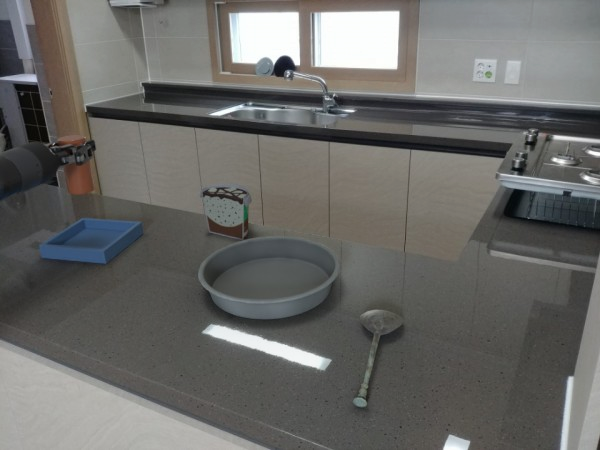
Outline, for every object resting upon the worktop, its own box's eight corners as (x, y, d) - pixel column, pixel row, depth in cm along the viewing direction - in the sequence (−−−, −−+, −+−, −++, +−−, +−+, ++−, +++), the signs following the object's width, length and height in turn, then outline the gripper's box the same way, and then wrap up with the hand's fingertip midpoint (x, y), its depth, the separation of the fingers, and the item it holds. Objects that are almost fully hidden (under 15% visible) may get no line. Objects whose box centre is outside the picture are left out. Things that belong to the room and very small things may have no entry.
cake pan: (287, 244, 111) (286, 224, 109) (369, 291, 92) (370, 268, 91) (177, 282, 98) (174, 260, 96) (247, 345, 79) (245, 319, 77)
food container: (265, 231, 117) (262, 187, 114) (249, 241, 113) (245, 197, 109) (221, 221, 123) (216, 180, 119) (203, 231, 119) (198, 188, 115)
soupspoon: (405, 320, 85) (364, 316, 87) (405, 301, 84) (364, 298, 86) (385, 413, 65) (333, 405, 67) (385, 390, 64) (331, 383, 66)
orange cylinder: (62, 193, 109) (51, 140, 105) (78, 185, 114) (68, 134, 109) (85, 195, 108) (74, 141, 103) (100, 186, 112) (90, 135, 108)
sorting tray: (41, 257, 109) (38, 245, 108) (85, 228, 122) (82, 217, 121) (106, 264, 105) (103, 251, 104) (143, 233, 118) (141, 221, 117)
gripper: (53, 148, 91) (109, 126, 106) (-17, 146, 95) (47, 125, 110) (62, 190, 94) (115, 163, 109) (-6, 186, 97) (54, 160, 113)
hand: (80, 144), depth 109 cm, fingers closed on orange cylinder, 5 cm apart
